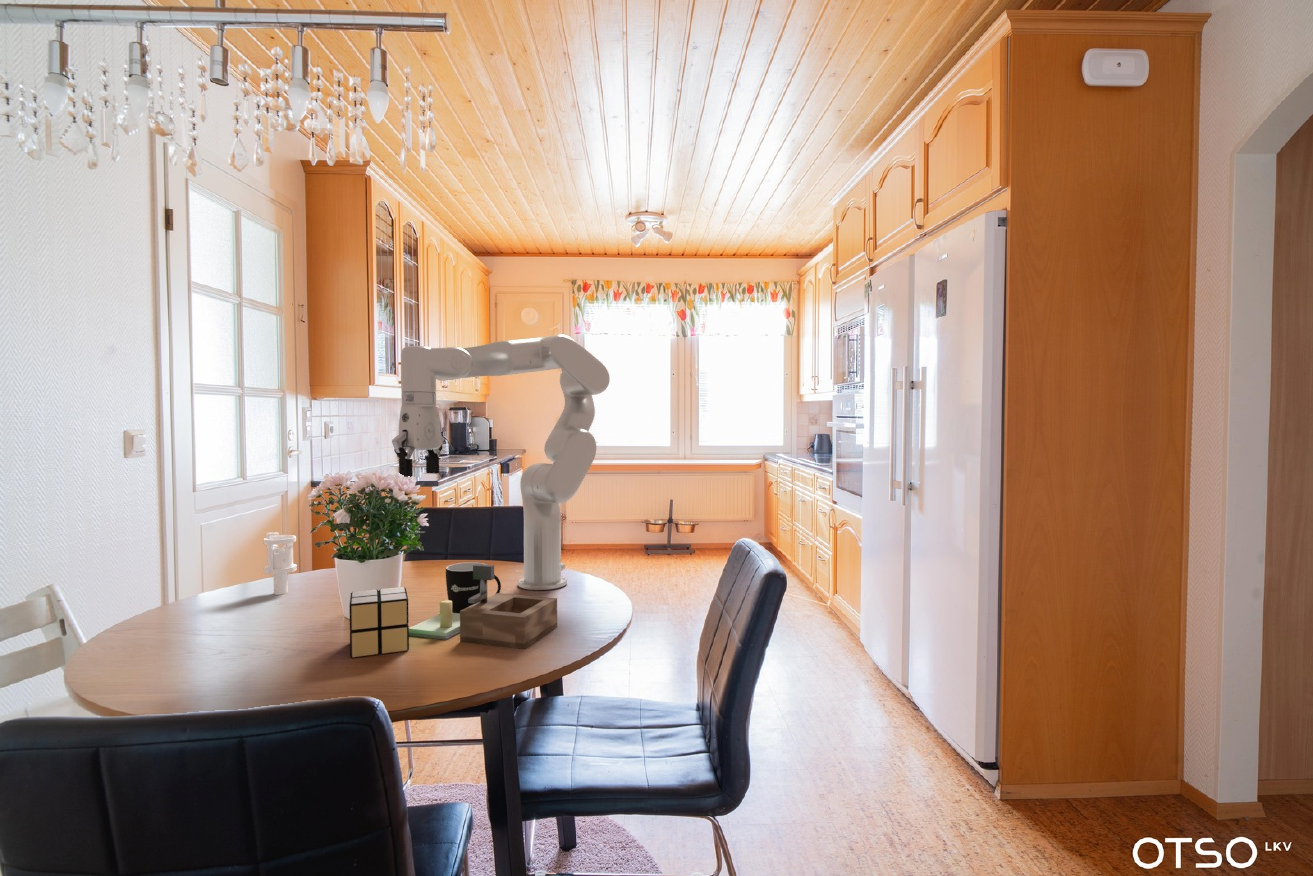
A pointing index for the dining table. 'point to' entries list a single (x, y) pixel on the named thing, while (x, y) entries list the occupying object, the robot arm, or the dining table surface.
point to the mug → (463, 585)
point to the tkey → (482, 581)
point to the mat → (434, 635)
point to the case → (508, 620)
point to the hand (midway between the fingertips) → (419, 475)
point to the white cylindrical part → (280, 560)
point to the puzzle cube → (378, 622)
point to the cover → (439, 622)
